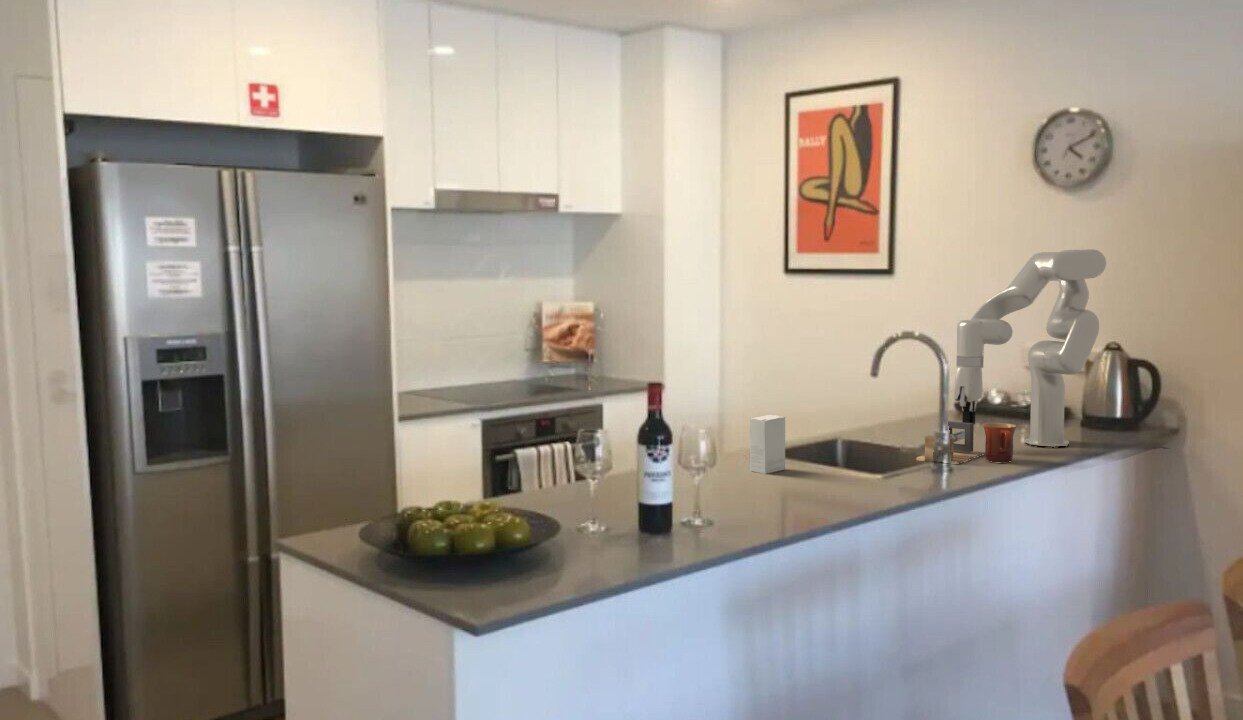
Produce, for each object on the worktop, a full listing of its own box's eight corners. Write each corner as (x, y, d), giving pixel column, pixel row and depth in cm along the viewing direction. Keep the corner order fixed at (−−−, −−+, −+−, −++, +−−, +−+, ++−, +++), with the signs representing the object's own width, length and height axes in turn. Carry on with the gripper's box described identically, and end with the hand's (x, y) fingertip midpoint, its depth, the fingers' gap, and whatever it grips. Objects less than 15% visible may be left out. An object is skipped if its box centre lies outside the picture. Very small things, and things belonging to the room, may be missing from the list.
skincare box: (770, 467, 291) (770, 413, 290) (786, 470, 286) (786, 416, 285) (748, 471, 286) (748, 417, 284) (765, 474, 281) (765, 419, 280)
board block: (946, 450, 313) (946, 427, 313) (985, 454, 306) (986, 430, 305) (916, 460, 298) (916, 435, 298) (957, 465, 291) (957, 439, 290)
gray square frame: (946, 448, 309) (947, 420, 308) (973, 450, 304) (973, 423, 303) (943, 449, 307) (943, 421, 306) (969, 452, 302) (970, 424, 301)
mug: (978, 458, 299) (978, 423, 299) (1009, 458, 299) (1010, 422, 298) (992, 466, 287) (992, 429, 287) (1024, 466, 287) (1025, 429, 286)
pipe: (961, 437, 310) (961, 429, 310) (970, 438, 308) (970, 429, 308) (935, 446, 296) (935, 437, 296) (944, 447, 295) (944, 438, 294)
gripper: (967, 360, 317) (966, 420, 318) (946, 363, 305) (945, 426, 307) (992, 361, 312) (991, 422, 313) (972, 365, 301) (970, 428, 302)
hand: (968, 424), depth 310 cm, fingers closed
